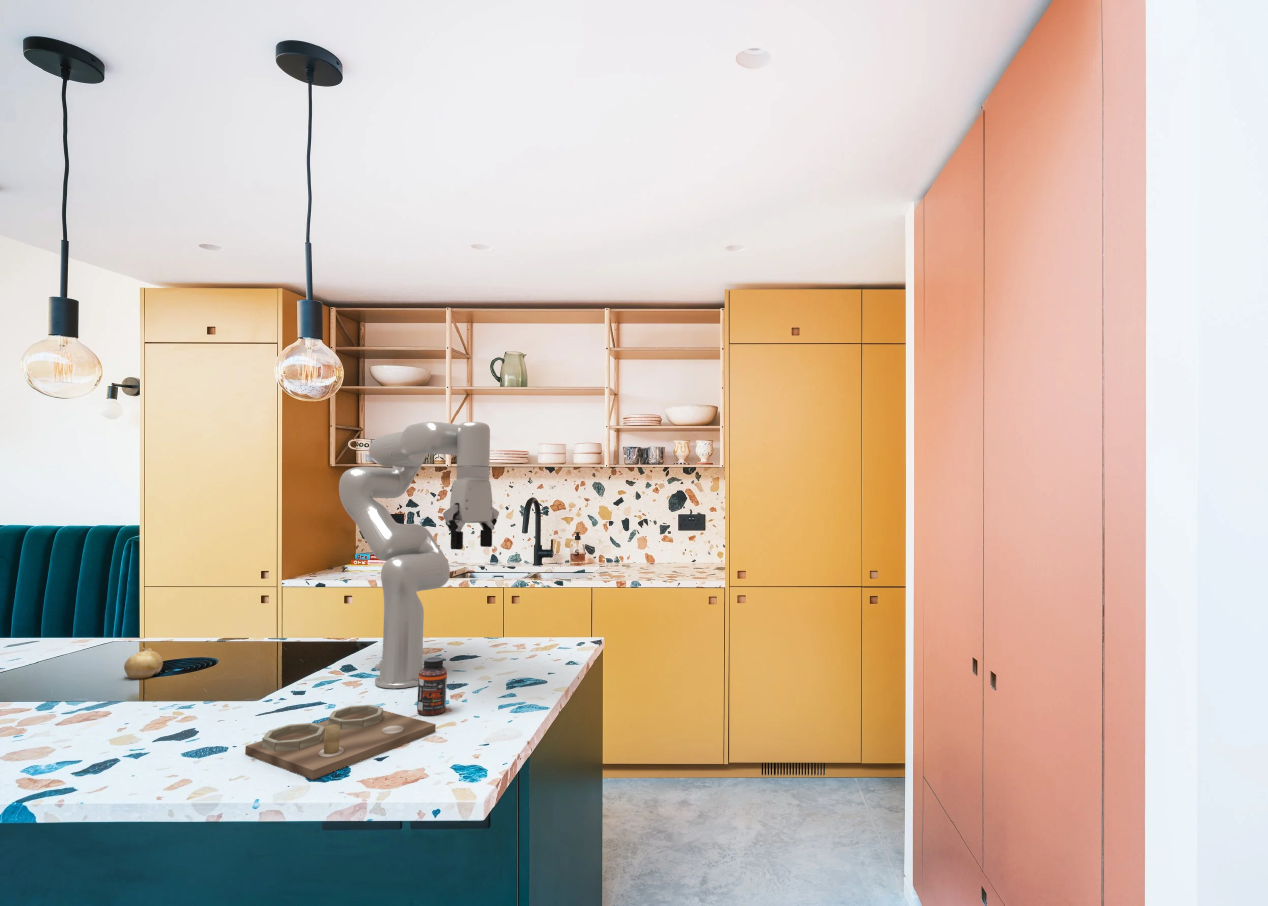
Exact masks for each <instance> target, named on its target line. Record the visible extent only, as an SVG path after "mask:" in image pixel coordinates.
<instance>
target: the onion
mask: <svg viewBox="0 0 1268 906" xmlns="http://www.w3.org/2000/svg"><path fill="white" fill-rule="evenodd" d="M142 650H143V651H139V652H136V653H134V654H133V655H130V657H129V658H128V659H126V661H125V662H124V665H123V667H124V669H123V670H124V673H125V674H126V675H127V677H128V678H129V680H141V679H150V678H151V677H153V676H154V675H155V676H156V675H157V674H159V673H160V671H161V670H162V668H163V664H164V660H163V658H162V656H161V655H160V654H159V653H158V652H156V651H153V650H152V648H151V647H150V648H149V647H148V648H145V647H142Z"/></svg>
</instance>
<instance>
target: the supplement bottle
mask: <svg viewBox="0 0 1268 906" xmlns="http://www.w3.org/2000/svg"><path fill="white" fill-rule="evenodd" d="M443 665H444V658H443V657H440V656H431V657H426V658H424V659H423V666H422V669H421V670H420V672H419V680H418V685H417V702H416V703H417V705H416V707H417V709H416V710H417V711H416V712H417V713H418V714H419V715H421V716H428V717H429V716H436V715H440V714H442V713H444V712H445V711H446V708H447V707H446V706H447V686H448V685H447V683H448V682H447V681H448V670H447V668H446V667H444V666H443Z"/></svg>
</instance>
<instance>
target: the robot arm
mask: <svg viewBox="0 0 1268 906" xmlns="http://www.w3.org/2000/svg"><path fill="white" fill-rule="evenodd" d="M490 446H491V428H490V426H489V425H488V424H487V423H484V422H479V421H464V422H462V423H459V424H455V423H449V422H439V421H423V422H419V423H415V424H410V425H407V426H406V428H405V429H404V430H403V431H397V432H393V433H389V434H383V435H380V436H378V437H376V438H375V439H374V440H372V442H371V443H370V445H369V448H368V453H369V457H370V458H371V460H372V461H373V462H374V463H376V464H377V465H380V466H383V467H380V466H379V467H378V466H377V467H376V466H357V467H352V468H349V469H347V470H345V471H344V472H343V473H342V475H340V478H339V483H338V494H339V500H340V502H341V505H342V506H343V508H344V510H345V512H346V513H347V514H348V516H349V517H350V518H351V520H353V522H354V523H355V524H356V526H357V528H358V529H359V531H360V533H361V535H362V536H363V538H364V540H365V541H366V544H367V545H368V547H369V550H371V552H372V554H373V555H374V557H375V558H377V560H380V561H384V562H385V563H383V565H382V567H381V571H380V579H381V581H380V582H381V586H382V587H381V588H382V592H383V593H382V594H383V630H382V631H383V637H382V658H381V659H382V660H380V662H379V663H376V664H375V665H374V669H375V670H377V671H379V675H378V676H376V678H375V679H374V684H375V686H376V687H379V688H383V689H404V688H412V687H418V680H419V672H420V670H421V669H423V652H424V651H423V649H424V648H423V647H424V620H425V619H424V613H425V612H424V605H423V603H422V601H421V599H420V598H419V596H418V593H417V592H421V591H428V590H435V589H440V588H441V587H443V586H445V585H446V584H447V583H448V581H449V579H450V574H451V572H450V571H451V569H450V564H449V561H448V560H447V558H446V556H445V554H444V552H443V551H442V549H441V548H440V546H439V544H438V543H437V541H436V540H435V538H434V537H433V535H432V533H431V532H430V531H429V530H428V528H426V527H425V526H423V525H421V524H417V523H398V522H396V520H395V519H394V518H393V517H392V515H391V512H389V510H388V509H387V508H386V507H385V506H384V505H383V504H382V503H379V501H377V500H375V499H395V498H399V497H402V495H404V494H405V493H406V492H407V490H408V488H409V487H410V486H411V484H412V482H413V481H414V478H415V477H416V476H417V474H418V473H419V470H420V469H421V467H422V466H423V464H424V462H425V459H426V458H427V456H428V454H435V455H448V456H449V455H450V456H456V480H453V484H452V488H451V493H450V501H449V508H448V509H446V510H445V511H444V512H443V513H442V515H443V519H444V521H445V525H446V527H447V528H448V531H449V532H450V549H451V550H460V551H461V550H463V548H464V532H463V531H462V529H463V527H464V526H465V524H475V523H476V524H477V523H479V525H480V526H481V528H482V529H480V538H479V539H480V541H479V545H480V547H483V548H491V547H493V531H494V530H495V525H496V524H497V522H498V517H499V515H500V512H499V511H498V510H497V509H496V508H494V506H493V493H492V491H493V490H492V484H491V481H490V475H491V472H490V457H491V455H490V453H491V452H490V451H491V447H490Z"/></svg>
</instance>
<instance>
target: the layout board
mask: <svg viewBox="0 0 1268 906" xmlns="http://www.w3.org/2000/svg"><path fill="white" fill-rule="evenodd" d="M436 729H437V728H436V723H432V722H429V721H425V720H422V719H418V718H415V717H410V716H405V715H402V714H399V713H395V712H391V711H387V710H384V707H381V706H376V705H373V704H364V705H363V704H362V705H350V706H345V707H343V708H339V709H336V710H333V711H332V712H331V713H330V715H329V716H328V719H327V720H324V721H321V722H317V723H314V722H306V723H292V724H286V725H284V726H280V727H276V728H272V729H271V730H268V731H267V732H266V733H265V735H264V736H263V737H262V740H260V741H256V742H254V743H250V744H246V745H245V752H244V754H245V756H249V757H251V758H253V759H256V760H259V761H262V762H264V763H267V764H270V765H271V766H272V765H273V766H275V767H278V768H280V769H283V770H285V769H286V771H288V770H289V771H288V772H291V773H293V772H294V773H293V774H296V773H297V775H299V774H300V775H299V776H302V777H305V778H307V779H310V780H316V779H318V778H321V777H323V776H327V775H329V774H332V773H333V771H334V772H336V770H337V771H339V770H341V768H342V769H344V768H346V766H347V767H349V766H352V765H354V764H357V763H359V762H362V761H365V760H367V759H369V758H372V757H375V756H377V755H380V754H383V753H385V752H388V751H390V750H393V749H395V748H397V747H400V746H403V745H406V744H408V743H410V742H413V741H416V740H419V739H421V738H423V737H426V736H428V735H430V734H431V735H432V734H433V733H436ZM351 764H352V765H351ZM348 765H349V766H348ZM343 767H344V768H343ZM338 769H339V770H338Z"/></svg>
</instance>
